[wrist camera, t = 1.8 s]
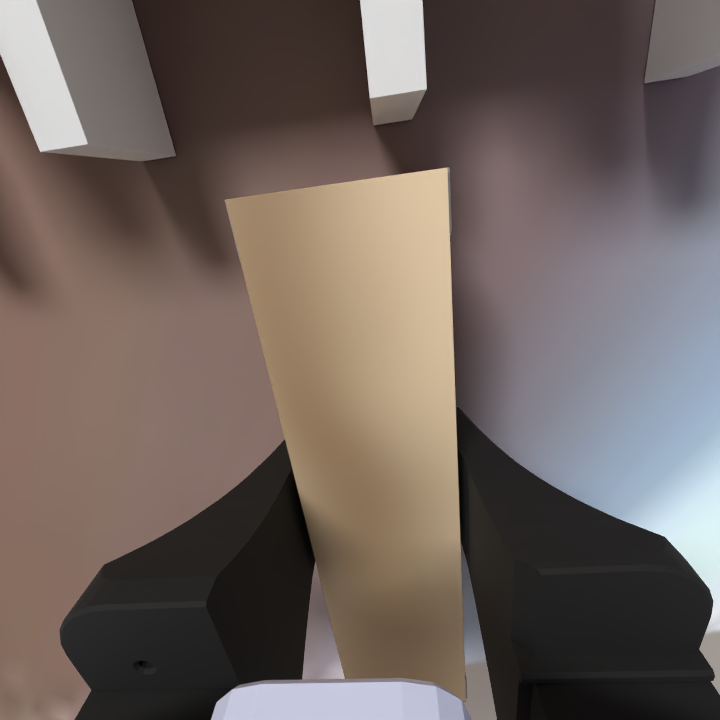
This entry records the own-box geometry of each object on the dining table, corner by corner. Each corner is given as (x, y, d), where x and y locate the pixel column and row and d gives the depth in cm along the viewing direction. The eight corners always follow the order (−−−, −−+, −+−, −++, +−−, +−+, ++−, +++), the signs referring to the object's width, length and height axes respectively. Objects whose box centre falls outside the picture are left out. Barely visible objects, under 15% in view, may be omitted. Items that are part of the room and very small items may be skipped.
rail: (420, 174, 11) (450, 167, 6) (443, 560, 17) (467, 702, 12) (288, 193, 11) (222, 199, 6) (358, 564, 17) (349, 703, 12)
